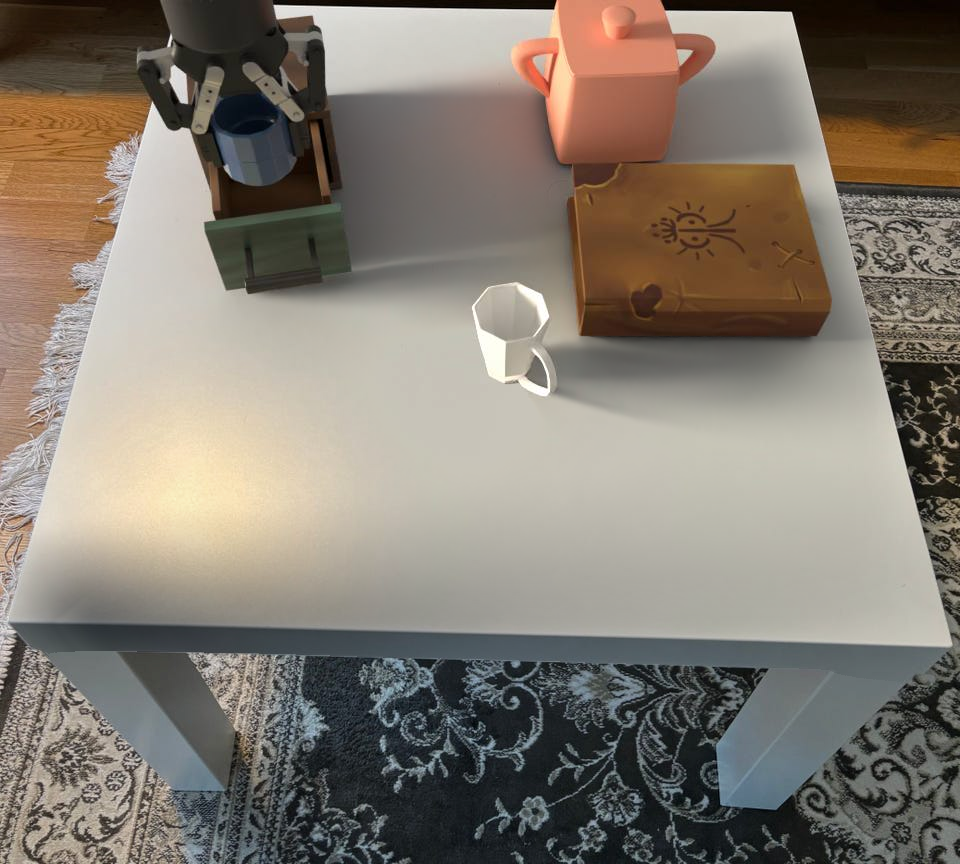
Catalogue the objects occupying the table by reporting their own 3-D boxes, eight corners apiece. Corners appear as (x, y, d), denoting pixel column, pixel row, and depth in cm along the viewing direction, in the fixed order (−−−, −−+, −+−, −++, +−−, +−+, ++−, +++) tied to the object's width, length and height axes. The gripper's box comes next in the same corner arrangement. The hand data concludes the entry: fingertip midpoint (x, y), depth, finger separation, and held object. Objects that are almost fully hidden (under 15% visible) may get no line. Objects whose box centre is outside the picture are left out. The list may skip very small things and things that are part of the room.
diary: (579, 342, 86) (585, 304, 81) (566, 204, 96) (572, 162, 91) (814, 342, 87) (834, 304, 82) (778, 204, 96) (794, 162, 91)
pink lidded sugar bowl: (708, 165, 99) (741, 56, 88) (513, 173, 98) (519, 63, 87) (676, 53, 110) (701, -59, 98) (499, 59, 109) (503, -53, 97)
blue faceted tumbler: (227, 196, 73) (210, 143, 68) (224, 145, 76) (207, 91, 71) (300, 186, 74) (288, 132, 69) (294, 136, 77) (282, 82, 72)
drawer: (359, 312, 87) (349, 252, 80) (229, 332, 86) (207, 274, 78) (334, 172, 97) (323, 108, 90) (217, 188, 96) (197, 125, 88)
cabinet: (342, 188, 97) (330, 110, 88) (215, 206, 96) (189, 128, 87) (325, 94, 105) (312, 14, 96) (207, 109, 104) (183, 30, 95)
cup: (515, 324, 88) (519, 269, 81) (579, 393, 83) (589, 341, 76) (456, 357, 85) (455, 304, 78) (519, 430, 81) (524, 380, 74)
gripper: (308, -82, 62) (339, 114, 77) (98, -60, 61) (170, 136, 75) (319, -19, 58) (350, 175, 73) (95, 5, 57) (172, 199, 71)
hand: (258, 154), depth 74 cm, fingers closed on blue faceted tumbler, 6 cm apart
